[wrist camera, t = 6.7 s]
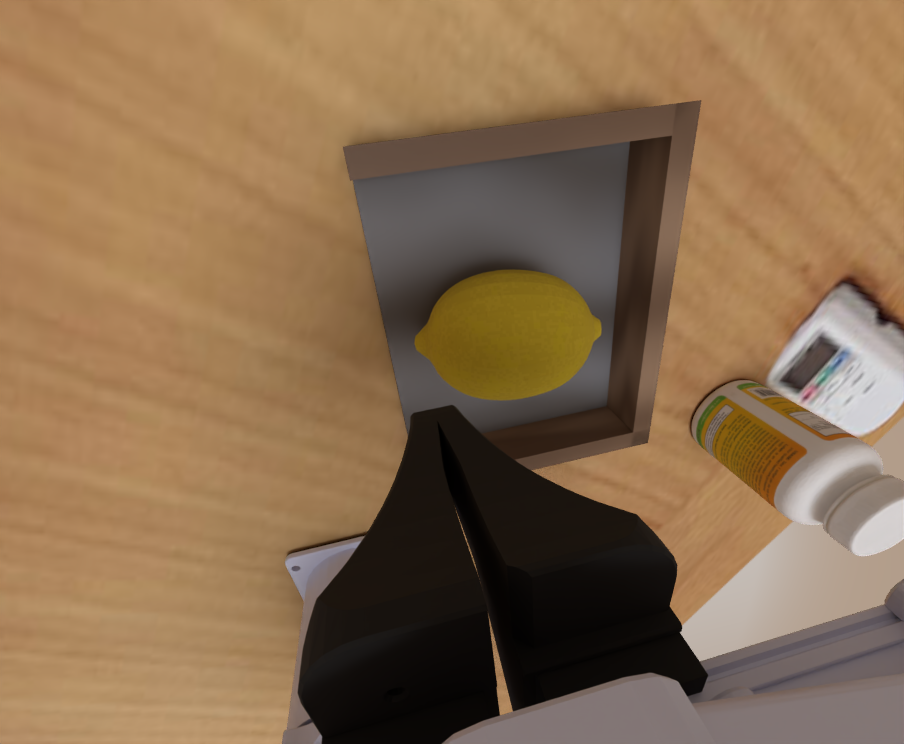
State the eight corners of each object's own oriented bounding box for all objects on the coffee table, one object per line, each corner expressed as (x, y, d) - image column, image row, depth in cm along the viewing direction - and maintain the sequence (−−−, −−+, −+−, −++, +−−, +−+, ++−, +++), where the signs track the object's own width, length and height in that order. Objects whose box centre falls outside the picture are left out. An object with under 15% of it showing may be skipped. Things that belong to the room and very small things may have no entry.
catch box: (618, 413, 25) (647, 442, 22) (413, 459, 23) (419, 496, 21) (649, 109, 17) (701, 100, 14) (346, 149, 16) (342, 146, 13)
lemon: (405, 420, 15) (622, 408, 14) (389, 274, 15) (617, 249, 13) (431, 391, 21) (590, 381, 20) (420, 284, 20) (585, 267, 19)
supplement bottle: (695, 457, 28) (836, 582, 20) (681, 404, 26) (837, 524, 17) (765, 419, 28) (939, 531, 19) (758, 362, 25) (956, 463, 17)
